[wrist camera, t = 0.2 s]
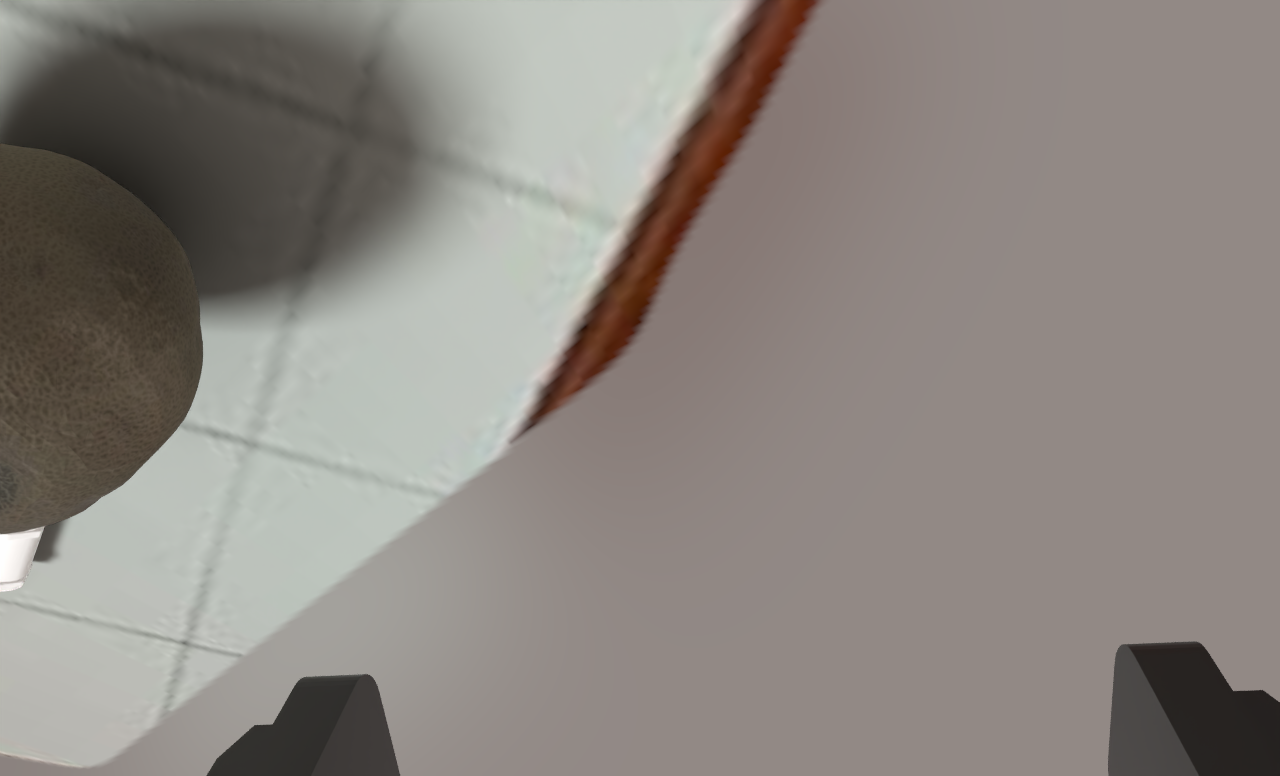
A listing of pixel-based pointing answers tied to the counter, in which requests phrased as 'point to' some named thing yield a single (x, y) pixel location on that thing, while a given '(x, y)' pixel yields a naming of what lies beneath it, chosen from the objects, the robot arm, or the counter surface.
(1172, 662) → the robot arm
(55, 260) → the cantaloupe
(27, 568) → the knuckle duster
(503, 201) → the counter surface
